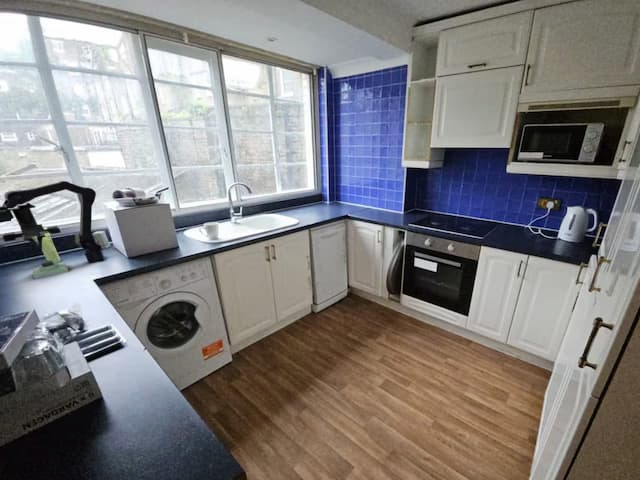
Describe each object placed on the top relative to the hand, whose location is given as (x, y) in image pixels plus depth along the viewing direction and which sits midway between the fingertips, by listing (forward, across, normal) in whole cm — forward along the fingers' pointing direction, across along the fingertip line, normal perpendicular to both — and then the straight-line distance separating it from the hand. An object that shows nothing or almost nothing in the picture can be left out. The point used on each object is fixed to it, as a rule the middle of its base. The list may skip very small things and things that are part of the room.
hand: (41, 250), depth 143 cm
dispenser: (+12, 0, 0) cm, 12 cm away
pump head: (+8, 0, 0) cm, 8 cm away
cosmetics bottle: (+12, +25, +28) cm, 40 cm away
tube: (+12, +2, +19) cm, 23 cm away
